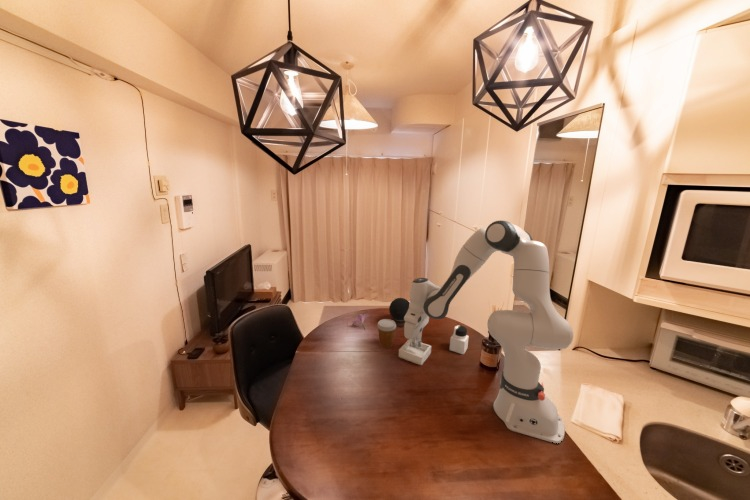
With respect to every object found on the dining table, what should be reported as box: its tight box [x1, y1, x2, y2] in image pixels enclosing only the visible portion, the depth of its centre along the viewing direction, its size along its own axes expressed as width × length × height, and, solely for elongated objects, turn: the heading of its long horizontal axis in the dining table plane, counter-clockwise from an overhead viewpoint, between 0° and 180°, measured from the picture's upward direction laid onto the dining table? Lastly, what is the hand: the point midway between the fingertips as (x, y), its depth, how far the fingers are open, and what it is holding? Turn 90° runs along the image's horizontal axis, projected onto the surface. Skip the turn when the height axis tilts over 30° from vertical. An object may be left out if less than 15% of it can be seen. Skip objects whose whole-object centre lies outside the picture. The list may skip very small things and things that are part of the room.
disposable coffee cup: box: [376, 318, 397, 349], centre depth 145 cm, size 10×10×12 cm
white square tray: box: [398, 339, 432, 366], centre depth 137 cm, size 12×12×4 cm
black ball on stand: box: [388, 297, 410, 328], centre depth 167 cm, size 13×13×15 cm
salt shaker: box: [412, 327, 423, 348], centre depth 136 cm, size 4×4×11 cm
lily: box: [351, 312, 371, 331], centre depth 162 cm, size 12×12×10 cm
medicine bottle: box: [448, 325, 470, 355], centre depth 142 cm, size 7×7×12 cm
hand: (416, 338), depth 136 cm, fingers closed on salt shaker, 4 cm apart
